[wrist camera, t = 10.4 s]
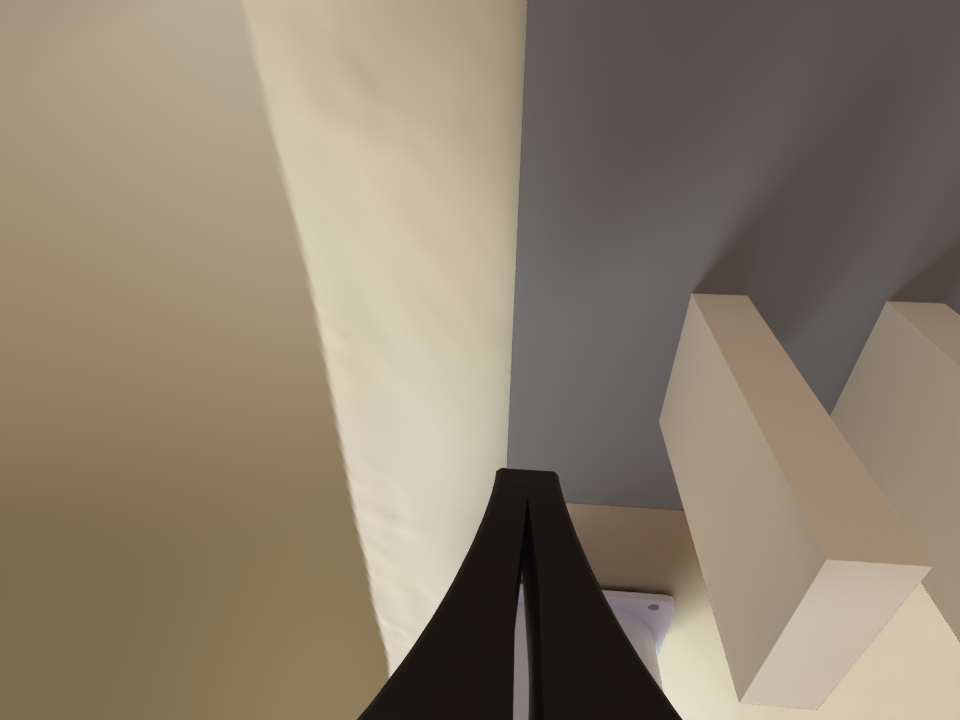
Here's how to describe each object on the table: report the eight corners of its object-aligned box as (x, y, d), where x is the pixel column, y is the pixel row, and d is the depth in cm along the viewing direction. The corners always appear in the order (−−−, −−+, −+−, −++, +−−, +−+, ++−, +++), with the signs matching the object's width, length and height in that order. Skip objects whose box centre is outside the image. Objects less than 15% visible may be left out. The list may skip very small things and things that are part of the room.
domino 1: (658, 421, 19) (739, 703, 11) (691, 293, 16) (826, 559, 9) (705, 424, 19) (817, 709, 11) (747, 295, 16) (932, 567, 8)
